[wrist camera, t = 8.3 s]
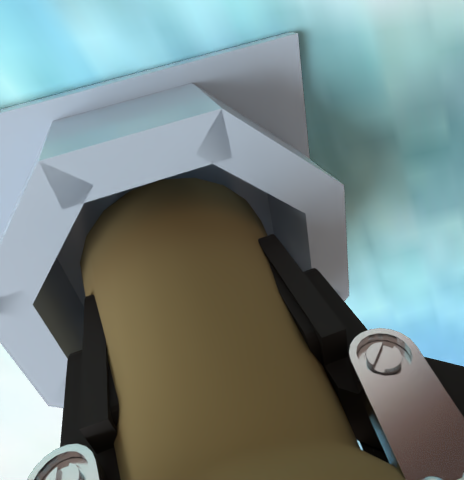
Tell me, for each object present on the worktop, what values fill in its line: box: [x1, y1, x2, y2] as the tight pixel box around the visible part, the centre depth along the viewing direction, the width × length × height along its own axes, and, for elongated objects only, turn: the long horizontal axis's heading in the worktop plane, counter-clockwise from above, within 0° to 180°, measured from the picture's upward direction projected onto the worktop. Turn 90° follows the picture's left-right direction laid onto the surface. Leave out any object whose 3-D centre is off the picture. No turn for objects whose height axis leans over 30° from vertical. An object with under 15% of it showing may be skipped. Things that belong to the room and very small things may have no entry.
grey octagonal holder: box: [0, 32, 349, 408], centre depth 13 cm, size 11×11×4 cm
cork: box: [80, 178, 405, 480], centre depth 8 cm, size 6×6×11 cm
